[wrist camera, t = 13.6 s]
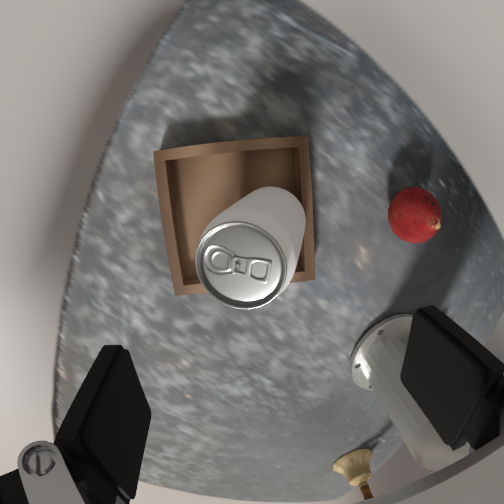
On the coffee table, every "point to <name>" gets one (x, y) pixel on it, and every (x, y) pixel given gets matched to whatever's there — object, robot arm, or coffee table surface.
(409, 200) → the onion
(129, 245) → the coffee table surface
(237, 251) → the can
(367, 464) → the hand bell
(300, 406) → the coffee table surface
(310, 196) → the tray
